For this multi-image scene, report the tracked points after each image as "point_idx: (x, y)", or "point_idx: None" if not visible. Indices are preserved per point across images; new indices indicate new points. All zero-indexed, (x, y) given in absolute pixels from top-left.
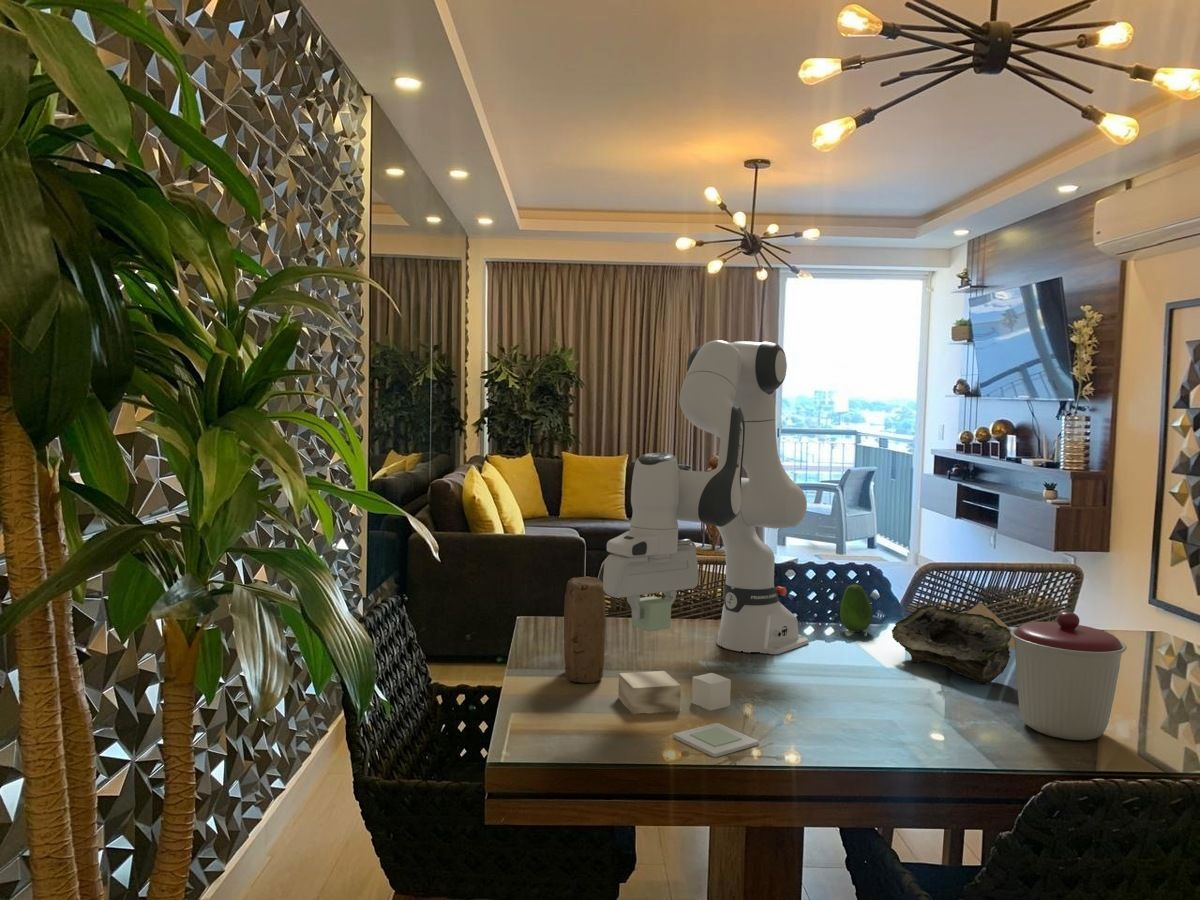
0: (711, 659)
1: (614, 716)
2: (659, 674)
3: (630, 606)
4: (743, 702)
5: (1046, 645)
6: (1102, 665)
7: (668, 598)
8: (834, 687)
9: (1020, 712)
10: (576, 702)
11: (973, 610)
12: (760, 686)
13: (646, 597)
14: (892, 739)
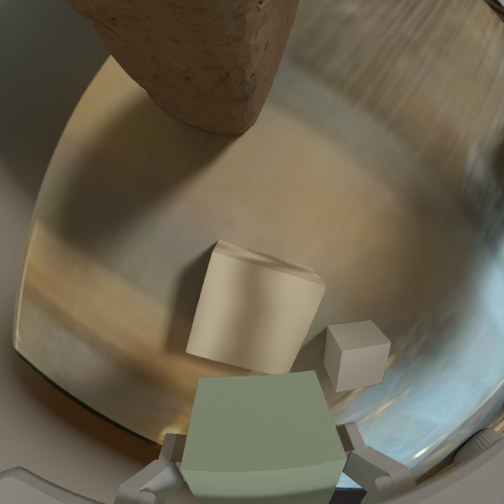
0: (486, 153)
1: (160, 318)
2: (297, 305)
3: (147, 466)
4: (391, 352)
5: None
6: None
7: (368, 480)
8: (492, 336)
9: (474, 440)
10: (131, 223)
11: None
12: (457, 302)
13: (282, 472)
14: (392, 457)
